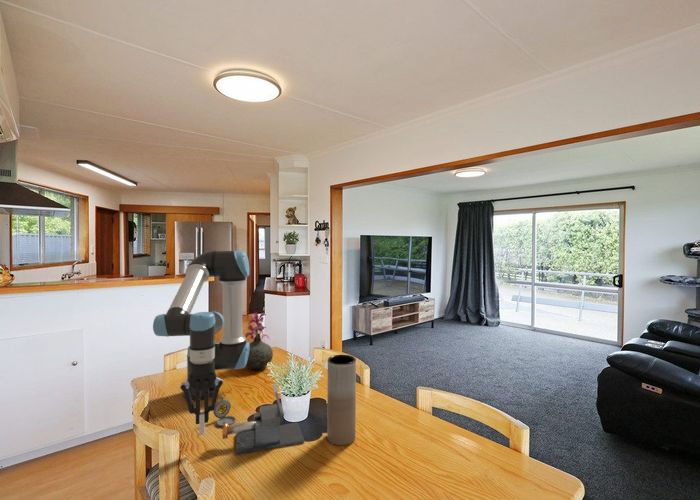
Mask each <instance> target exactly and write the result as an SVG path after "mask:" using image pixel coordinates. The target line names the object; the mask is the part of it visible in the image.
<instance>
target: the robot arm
mask: <svg viewBox="0 0 700 500" xmlns="http://www.w3.org/2000/svg"><path fill="white" fill-rule="evenodd" d="M249 276H250V262H249V257H248V254H247V253H246V252H245V251H243V250H210V251H209V250H208V251H206V252H205V251H204V252H203V253H201V254H199V255H198V256H196V257H195V258H193V259H192V260H191V261H190V263H189V264H188V265H187V266H186V269H185V276H184V279H183V281H182V282H181V284H180V286H179V289H178V290H177V292H176V294H175V296H174V298H173V299H172V301H171V304H170V306H169V307H168V309H167V311H166V313H162V314H157V315H156V316H155V317H154V320H153V324H152V331H153V333H154V335H155V336H157V337H184V336H189V346H188V347H187V351H186V352H187V355H186V357H187V358H186V361H187V362H186V364H187V365H186V369H187V370H186V371H187V375H186V377H187V378H186V381H185V382H182V383H181V385H180V387H179V388H180V390H181V391H182V397H183V398H184V399H185V401H186V405H187V408H188V413H189V414H191V415H195V424H196V425H198V428H199V430H198V432H199V433H198V435H199V436H203V435H204V436H205V432H206V424H207V423H208V422H209V419H210V418H209V417H210V415H209V414H210V412H213V410H214V408H215V405H216V404H217V399H218V397H219V392H220V388H221V386H223V383H224V379H223V378H219V377H218V376H217V374H216V371H221V370H223V371H224V370H242V369H244V368H245V367H246V364H247V360H248V356H249V349H250V343H251V342H249V341H247V338H246V337H245V335H243V332H244V331H243V330H244V329H243V285H244V284H243V283H245V282H246V280H247V277H249ZM212 277H213V278H216V277H217V278H218V282H219V283H220V284H221V285H222V314H221V313H220V312H218V311H200V312H195V313H192V310H193V309H194V306H195V304H196V301H197V299H198V297H199V294H200V293H201V290H202V287H203V285H204V283H205V282H206V281H207V280H209V278H212ZM221 330H222V337H221V338H220V339H219V342H218V343H217V342H216V334H218V333H219V332H220V331H221ZM210 398H212V399H211V404H210ZM201 400H204V401H203V405H204V407H203V408H204V410H201ZM193 401H195V405H194V402H193Z"/></svg>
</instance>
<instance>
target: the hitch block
mask: <svg viewBox="0 0 700 500" xmlns="http://www.w3.org/2000/svg"><path fill="white" fill-rule="evenodd" d="M257 420H261V422H257V423H255V431H249V432H243V433H237V434H235V441H236V442H235V443H236V444H235V446H236V447H235V448H236V449H235V453H236V456H238V455H243V454H250V453H256V452H261V451H262V452H263V451H266V450H267V451H268V450H272V449H278V448H279V449H280V448H283V447H289V446H295V445H300V444H304V443H305V438H304V435H303V433H302V429H301V427H300V424H299V422H293V423H286V424H281V416H280V412H279V408H278V403H274V404H269V405H263V406H262V405H261V406H259V412H254V413H253V421H257Z"/></svg>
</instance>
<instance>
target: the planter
mask: <svg viewBox="0 0 700 500" xmlns="http://www.w3.org/2000/svg"><path fill="white" fill-rule="evenodd" d="M356 384H357V360H356V357H354V356H353V355H348V354H335V355H331V356H330V357H328V359H327V404H326V405H327V410H326V411H327V412H326V413H327V414H326V415H327V417H326V420H327V421H326V422H327V424H326V426H327V428H326V429H327V432H326V433H327V435H326V436H327V440H328V442H329V443H331V444H332V445H335V446H348V445H350V444H352V443H353V442H355V440H356V433H357V431H356V422H357V421H356V420H357V419H356V418H357V417H356V410H357V404H356V402H357V397H356V396H357V395H356V394H357V391H356V389H357V385H356Z"/></svg>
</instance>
